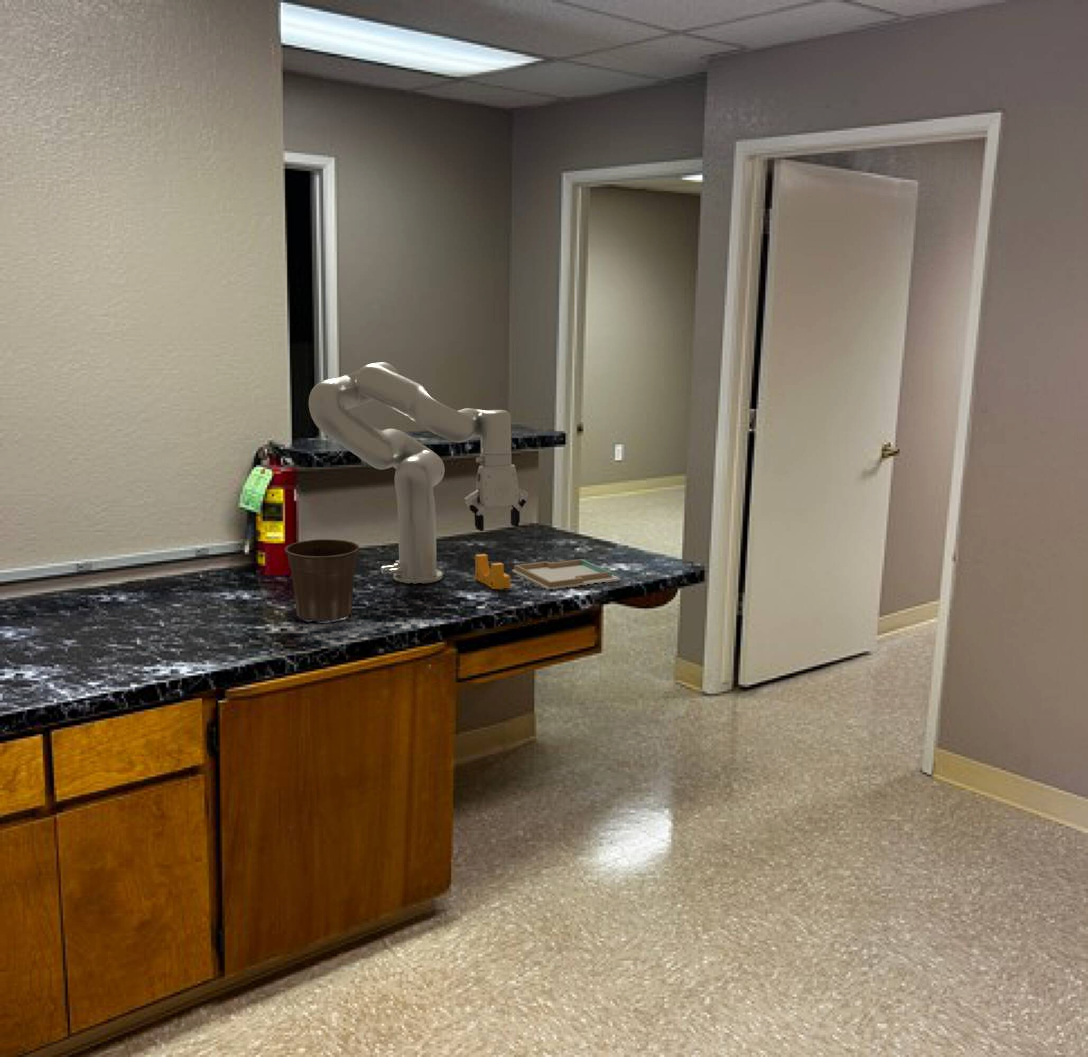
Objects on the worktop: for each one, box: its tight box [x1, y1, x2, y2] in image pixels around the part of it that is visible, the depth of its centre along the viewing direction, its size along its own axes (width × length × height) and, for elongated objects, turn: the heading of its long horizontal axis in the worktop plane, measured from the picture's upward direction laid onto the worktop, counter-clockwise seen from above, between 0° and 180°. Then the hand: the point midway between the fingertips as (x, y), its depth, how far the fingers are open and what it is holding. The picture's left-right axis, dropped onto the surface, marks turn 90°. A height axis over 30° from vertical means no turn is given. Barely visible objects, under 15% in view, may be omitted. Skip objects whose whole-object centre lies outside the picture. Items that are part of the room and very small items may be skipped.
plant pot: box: [284, 538, 360, 622], centre depth 242 cm, size 16×16×16 cm
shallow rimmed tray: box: [511, 558, 621, 591], centre depth 280 cm, size 21×20×2 cm
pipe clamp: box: [474, 553, 511, 590], centre depth 272 cm, size 12×4×6 cm, turn 26°
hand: (497, 527), depth 270 cm, fingers open, 9 cm apart
